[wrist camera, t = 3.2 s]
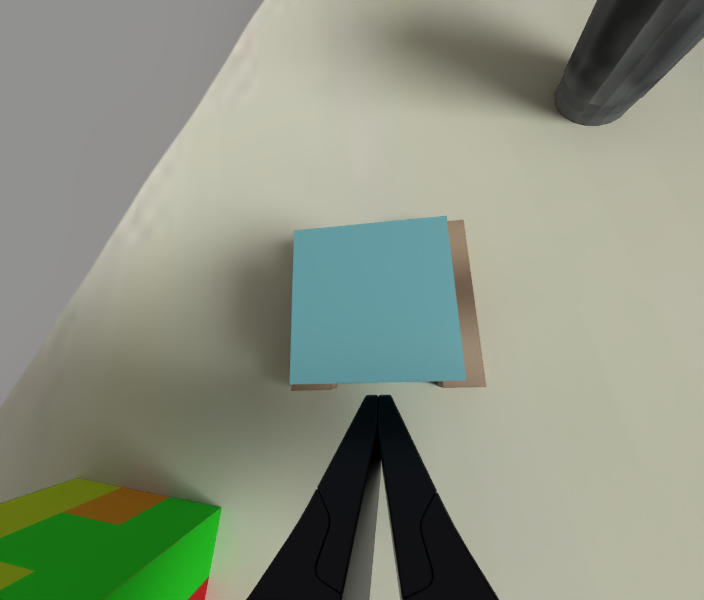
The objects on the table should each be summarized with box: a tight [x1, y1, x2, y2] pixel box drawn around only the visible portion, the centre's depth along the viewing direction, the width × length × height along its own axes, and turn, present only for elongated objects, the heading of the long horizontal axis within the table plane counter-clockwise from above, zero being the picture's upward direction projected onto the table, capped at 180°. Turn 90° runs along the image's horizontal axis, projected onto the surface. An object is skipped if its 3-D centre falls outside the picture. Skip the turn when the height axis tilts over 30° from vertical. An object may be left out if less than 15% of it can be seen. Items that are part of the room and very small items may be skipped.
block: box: [290, 216, 466, 384], centre depth 13 cm, size 5×5×9 cm
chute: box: [291, 220, 486, 391], centre depth 17 cm, size 9×10×2 cm
